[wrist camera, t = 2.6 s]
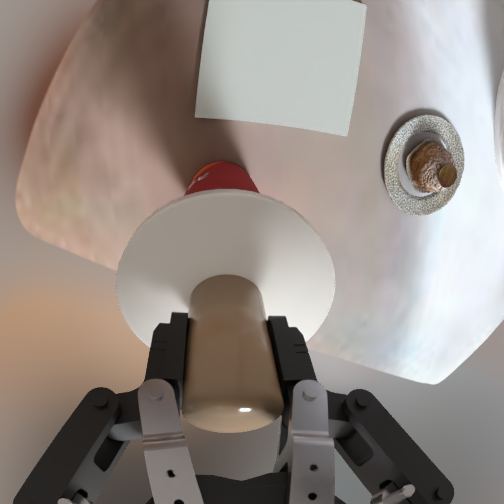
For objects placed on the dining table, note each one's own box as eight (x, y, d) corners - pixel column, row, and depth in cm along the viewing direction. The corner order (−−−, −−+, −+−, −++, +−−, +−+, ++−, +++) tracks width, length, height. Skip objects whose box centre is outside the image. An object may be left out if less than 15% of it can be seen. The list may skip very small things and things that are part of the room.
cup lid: (111, 183, 12) (31, 277, 6) (353, 201, 13) (438, 293, 7) (134, 353, 17) (117, 451, 11) (303, 357, 19) (328, 451, 13)
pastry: (462, 192, 31) (484, 206, 27) (390, 226, 33) (410, 246, 29) (449, 103, 25) (476, 109, 21) (366, 130, 27) (389, 139, 23)
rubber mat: (214, -23, 17) (213, -26, 17) (364, 6, 19) (366, 5, 19) (195, 116, 24) (194, 117, 24) (344, 135, 26) (347, 136, 26)
